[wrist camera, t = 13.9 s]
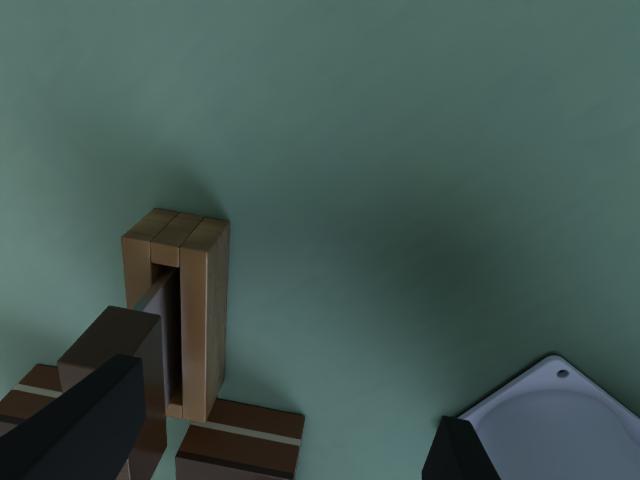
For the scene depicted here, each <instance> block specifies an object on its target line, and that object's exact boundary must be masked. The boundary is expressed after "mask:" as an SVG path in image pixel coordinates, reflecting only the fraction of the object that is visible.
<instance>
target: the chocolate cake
mask: <svg viewBox="0 0 640 480" xmlns="http://www.w3.org/2000/svg"><path fill="white" fill-rule="evenodd" d="M304 421H305V416H302V415H297V414H292V413H287V412H282V411H277V410H271V409H266V408H261V407H256V406H251V405H246V404H241V403H235V402H230V401H225V400H220V399H216V400H215V402H214V405H213V407H212V409H211V412H210V414H209V416H208V419H207V421H206V423H199V422H194V421H192V422H191V424H190V426H189V428H188V430H187V432H186V435H185V437H184V439H183V441H182V443H181V445H180V448H179V451H178V452H177V454H176V456H175V464H176V480H295V475H296V469H297V463H298V457H299V451H300V445H301V439H302V433H303V427H304Z"/></svg>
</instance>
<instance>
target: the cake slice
mask: <svg viewBox="0 0 640 480" xmlns="http://www.w3.org/2000/svg"><path fill="white" fill-rule="evenodd" d="M62 394H63V392H62V387H61V382H60V377H59V371H58V368H56V367H51V366H45V365H40V364H37V365H36V366H35V367H34V368H33V369H32V370H31V371H30V372H29V373H28V374H27V375H26V376H25V377H24V378H23V379H22V380H21V381H20V382H19V383H18V384H16V385H15V387H14V388H13V390H11V391H10V392H9V393H8V394H7V395H6V396H5V397H4V398H3V399H2V400H1V401H0V437H1V436H2V435H4V434H5V433H7V432H8V431H10V430H11V429H13V428H15V427H16V426H18V425H19V424H21V423H22V422H23V421H25V420H26V419H28V418H29V417H31V416H32V415H33V414H35V413H36V412H38V411H39V410H40V409H42V408H43V407H45V406H46V405H48V404H49V403H50V402H52V401H53V400H55V399H56V398H57V397H59V396H60V395H62Z"/></svg>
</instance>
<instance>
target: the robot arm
mask: <svg viewBox="0 0 640 480" xmlns="http://www.w3.org/2000/svg"><path fill="white" fill-rule="evenodd" d="M560 370H564V371H563V372H558V371H560ZM146 418H147V416H146V403H145V390H144V376H143V363H142V358H139V357H134V356H128V355H123V354H116V355H115V356H113V357H112V358H110V359H109V360H108V361H106V362H105V363H103V364H102V365H101V366H99V367H98V368H97V369H95V370H94V371H93V372H91V373H90V374H89V375H87V376H86V377H85V378H83V379H82V380H81V381H79V382H78V383H77V384H75V385H74V386H72V387H71V388H70V389H68V390H67V391H66V392H64V393H63V394H62V395H60V396H59V397H57V398H56V399H55V400H53V401H52V402H50V403H49V404H48V405H46V406H45V407H43V408H42V409H40V410H39V411H38V412H36V413H35V414H33V415H32V416H31V417H29V418H28V419H26V420H25V421H23V422H22V423H21V424H19V425H18V426H16V427H15V428H13V429H11V430H10V431H8V432H7V433H5V434H4V435H2V436H1V437H0V480H116V478H117V477H118V475H119V473H120V472H121V470H122V468H123V466H124V465H125V463H126V461H127V459H128V457H129V455H130V453H131V451H132V449H133V447H134V445H135V442H136V440H137V438H138V436H139V434H140V431H141V429H142V427H143V424H144V422H145V420H146ZM422 480H640V418H638V417H637V416H636V415H634V414H633V413H632V412H631V411H629V410H628V409H627V408H625V407H624V406H623V405H622V404H620V403H619V402H618V401H617V400H615V399H614V398H613V397H611V396H610V395H609V394H608V393H606V392H605V391H604V390H603V389H601V388H600V387H599V386H597V385H596V384H595V383H594V382H592V381H591V380H590V379H588V378H587V377H586V376H585V375H583V374H582V373H581V372H580V371H578V370H577V369H576V368H574V367H573V366H572V365H571V364H569V363H568V362H567V361H565V360H564V359H563V358H562V357H560V356H556V355H553V356H549V357H546V358H545V359H543V360H542V361H540V362H539V363H537V364H536V365H534V366H533V367H531V368H530V369H529V370H527V371H526V372H524V373H523V374H521V375H520V376H518V377H517V378H515V379H514V380H512V381H511V382H509V383H508V384H506V385H505V386H504V387H502V388H501V389H499V390H498V391H496V392H495V393H493V394H492V395H490V396H489V397H487V398H486V399H484V400H483V401H481V402H480V403H479V404H477V405H476V406H474V407H473V408H471V409H470V410H468V411H467V412H465V413H464V414H462V415H461V416H459V417H458V418H453V417H448V416H442V419H441V422H440V424H439V427H438V430H437V432H436V435H435V438H434V440H433V443H432V446H431V448H430V451H429V454H428V456H427V459H426V462H425V464H424V467H423V470H422Z"/></svg>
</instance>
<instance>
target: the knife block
mask: <svg viewBox="0 0 640 480" xmlns="http://www.w3.org/2000/svg"><path fill="white" fill-rule="evenodd" d="M229 235H230V222H229V221H224V220H219V219H213V218H207V217H206V218H204V217H202V216H197V215H191V214H185V213H179V212H174V211H168V210H163V209H157V208H154V209H153V210H152V211H150V212H149V213H148V214H147V215H146V216H145V217H143V218H142V219H141V220H140V221H139V222H138V223H137V224H135V225H134V226H133V227H132V228H131V229H130V230H128V231H127V232H126V233H125V234H124V235H123V236H122V237H121V243H122V254H123V265H124V276H125V287H126V298H127V309H131V310H132V309H133V307H134V306H135V305H136V304H137V303H138V302H139V300H140V299H141V298H142V297H143V296H144V294H145V293H146V292H147V291H148V290H149V288H150V287H151V286H152V285H153V284H154V282H155V281H156V280H157V279H158V278H159V277H160V275H161V274H162V273H163V272H164V271H165V269H166V268H167V267H168V266H172V267H180V300H181V349H182V382H181V383H180V385H179V387H178V389H177V391H176V393H175V394H174V396H173V398H172V400H171V402H170V404H169V406H168V407H167V409H166V416H168V417H173V418H178V419H182V418H183V419H184V420H189V421H194V422H199V423H206V421H207V419H208V416H209V414H210V412H211V409H212V407H213V405H214V402H215V400H216V398H217V395H218V393H219V391H220V388H221V386H222V384H223V381H224V362H225V337H226V311H227V286H228V261H229Z"/></svg>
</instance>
